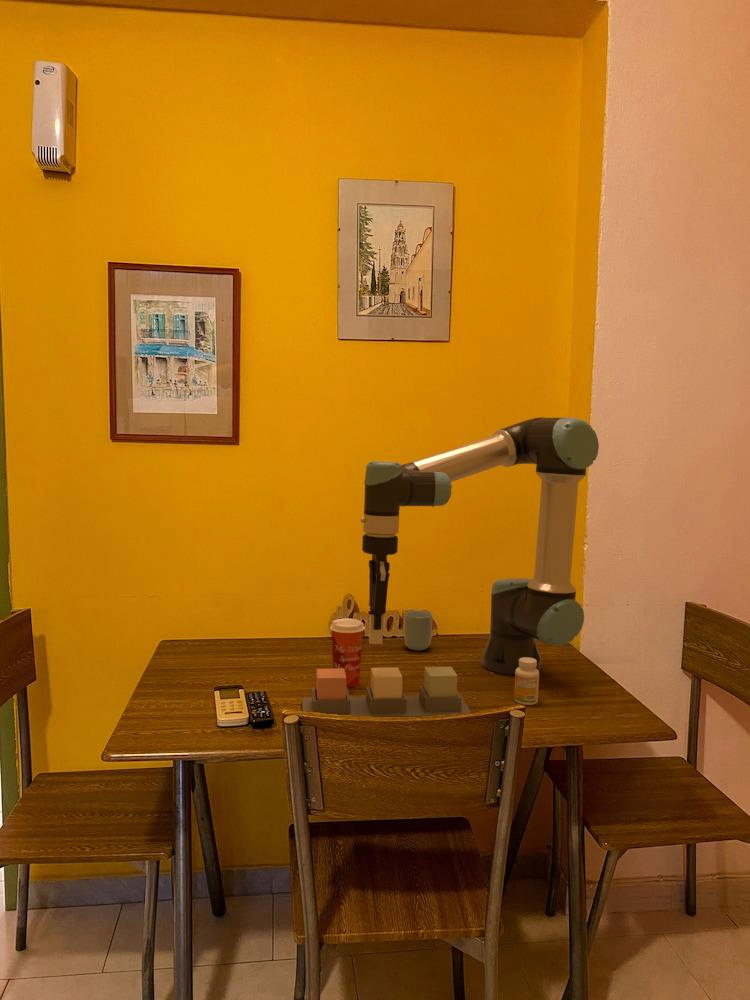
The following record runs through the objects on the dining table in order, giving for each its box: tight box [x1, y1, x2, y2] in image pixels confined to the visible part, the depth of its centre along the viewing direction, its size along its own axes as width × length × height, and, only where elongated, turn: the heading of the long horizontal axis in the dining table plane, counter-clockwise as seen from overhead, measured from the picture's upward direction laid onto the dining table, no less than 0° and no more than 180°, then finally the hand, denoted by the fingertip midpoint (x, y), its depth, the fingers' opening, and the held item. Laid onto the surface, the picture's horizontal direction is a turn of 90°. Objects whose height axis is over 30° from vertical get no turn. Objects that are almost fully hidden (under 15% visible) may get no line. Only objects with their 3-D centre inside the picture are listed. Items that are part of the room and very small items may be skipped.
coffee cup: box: [329, 617, 366, 688], centre depth 178 cm, size 8×8×15 cm
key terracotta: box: [315, 668, 346, 700], centre depth 160 cm, size 6×6×5 cm
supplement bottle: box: [513, 657, 540, 706], centre depth 170 cm, size 5×5×10 cm
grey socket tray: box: [301, 685, 472, 717], centre depth 162 cm, size 36×12×4 cm, turn 97°
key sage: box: [423, 666, 458, 697], centre depth 163 cm, size 6×6×5 cm
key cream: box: [370, 667, 403, 699], centre depth 162 cm, size 6×6×5 cm
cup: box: [403, 609, 434, 652], centre depth 207 cm, size 8×8×10 cm
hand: (375, 642), depth 160 cm, fingers closed
